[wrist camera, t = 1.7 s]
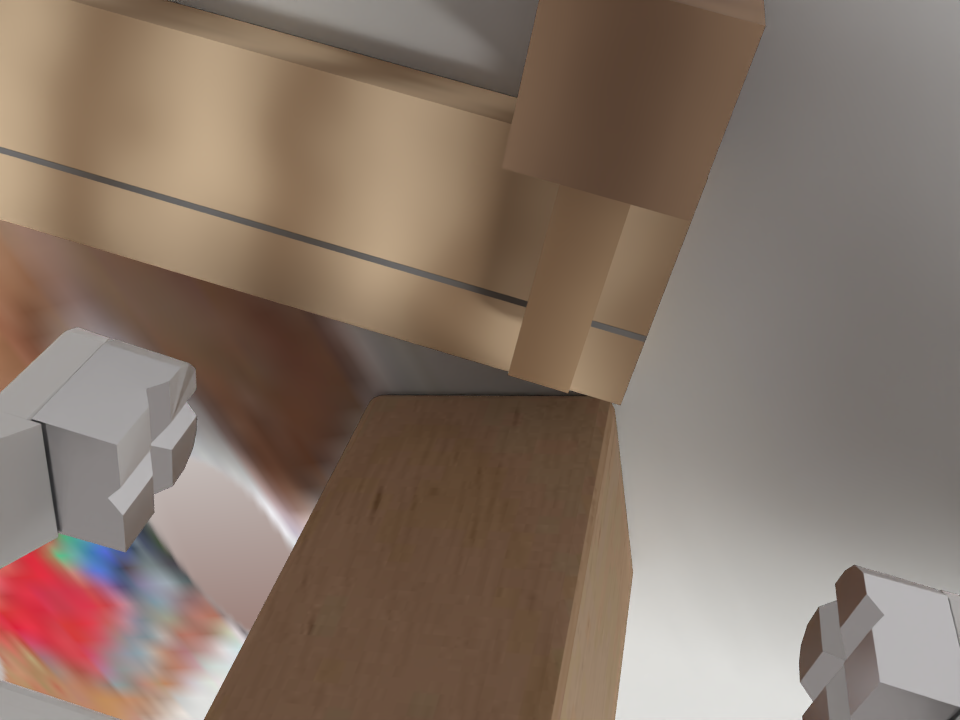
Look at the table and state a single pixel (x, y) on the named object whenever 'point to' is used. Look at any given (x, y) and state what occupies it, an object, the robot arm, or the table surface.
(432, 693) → the wooden block
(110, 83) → the board
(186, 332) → the table surface
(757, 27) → the block
